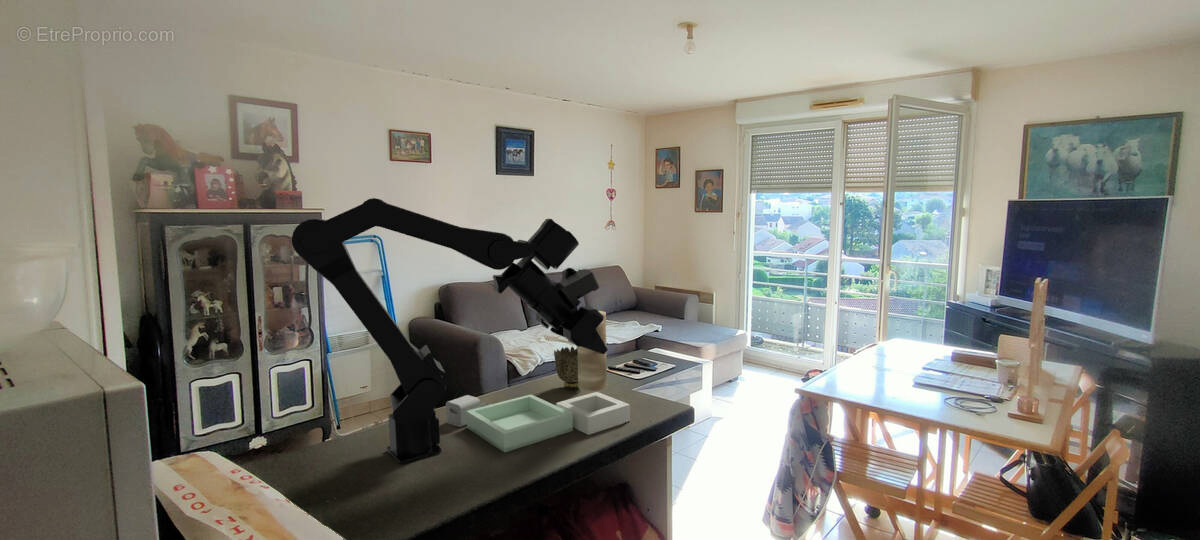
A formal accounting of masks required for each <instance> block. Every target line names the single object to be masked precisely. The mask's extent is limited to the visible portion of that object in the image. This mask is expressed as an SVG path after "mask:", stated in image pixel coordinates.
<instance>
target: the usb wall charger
mask: <svg viewBox="0 0 1200 540" xmlns="http://www.w3.org/2000/svg"><path fill="white" fill-rule="evenodd" d="M487 405H489V403H488V402H484V403H481V400H480V399H479V398H478V397H476V396H473V395H469V394H466V395H463V396H460V397H458V398H455V399H452V400H448V401H446V403H445V410H446V411H445V415H446V417H445V419H446V422H447V423H448V424H449V425H452V426H455V427H458V428H461V427H464V426H467V420H466V411H468V410H472V409H476V408H480V407H484V406H487Z"/></svg>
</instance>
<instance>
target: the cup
mask: <svg viewBox="0 0 1200 540" xmlns="http://www.w3.org/2000/svg"><path fill="white" fill-rule="evenodd" d="M553 355H554V363H555V369H556V374H557V376H558V378H559V379H560V380H561V381H563V387H564V388H565V389H567V390H570V391H571V390H572V391H573V390H578V389H579V388H578V347H576V348H575V347H574V346H571V347H570V348H569V347H567V346H566V347H561V349H560V350H559V349H558V348H557V349H556V350H555V349H554V350H553Z"/></svg>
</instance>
